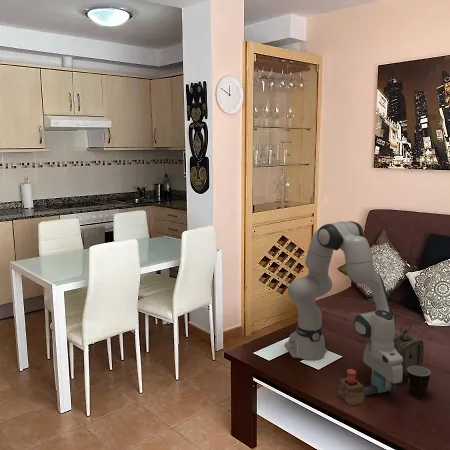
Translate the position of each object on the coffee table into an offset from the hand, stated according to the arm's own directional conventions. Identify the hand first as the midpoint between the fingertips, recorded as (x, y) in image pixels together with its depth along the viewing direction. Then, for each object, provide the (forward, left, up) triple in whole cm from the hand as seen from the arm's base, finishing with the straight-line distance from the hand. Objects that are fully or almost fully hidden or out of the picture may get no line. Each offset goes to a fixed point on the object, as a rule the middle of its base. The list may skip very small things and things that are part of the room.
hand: (381, 383), depth 188 cm
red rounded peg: (0, -14, +2) cm, 14 cm away
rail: (0, -3, -4) cm, 5 cm away
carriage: (0, 0, -3) cm, 3 cm away
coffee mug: (+7, +12, -4) cm, 14 cm away
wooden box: (0, -14, -4) cm, 15 cm away
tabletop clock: (-7, +17, -4) cm, 19 cm away
